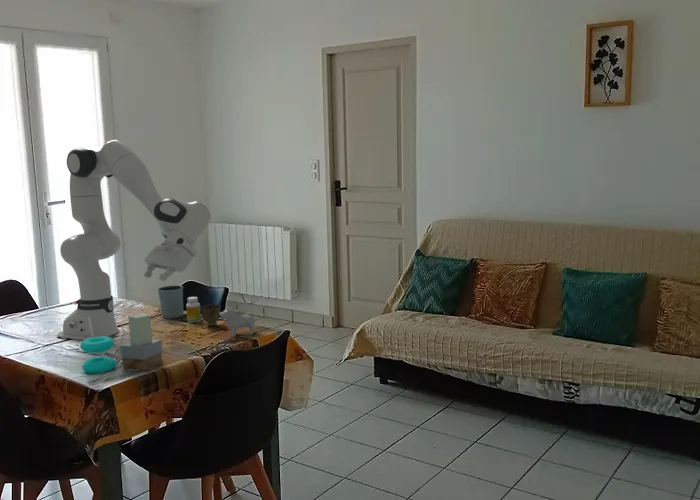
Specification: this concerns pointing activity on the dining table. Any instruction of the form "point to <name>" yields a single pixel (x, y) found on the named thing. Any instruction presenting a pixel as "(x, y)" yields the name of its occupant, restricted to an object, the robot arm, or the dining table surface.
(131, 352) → the tower top slab
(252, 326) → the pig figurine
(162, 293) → the grey-blue plant pot
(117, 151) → the robot arm
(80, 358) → the dining table surface
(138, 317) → the sage block
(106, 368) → the donuts
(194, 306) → the supplement bottle
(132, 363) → the tower bottom slab
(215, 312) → the cup
